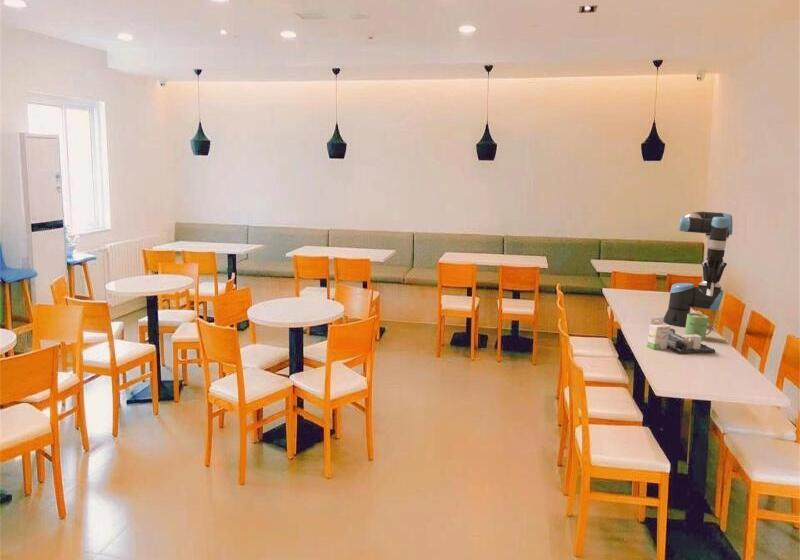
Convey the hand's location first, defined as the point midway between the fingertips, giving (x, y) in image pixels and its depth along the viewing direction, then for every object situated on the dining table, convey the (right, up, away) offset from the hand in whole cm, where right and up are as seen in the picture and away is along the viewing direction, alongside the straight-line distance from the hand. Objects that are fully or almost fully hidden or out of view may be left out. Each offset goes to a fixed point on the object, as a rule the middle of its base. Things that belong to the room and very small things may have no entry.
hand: (709, 295), depth 310 cm
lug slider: (-12, -26, -5) cm, 29 cm away
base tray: (-12, -26, +3) cm, 29 cm away
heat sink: (-15, -24, +2) cm, 29 cm away
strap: (-15, -21, +1) cm, 26 cm away
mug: (+4, -23, +20) cm, 31 cm away
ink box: (-26, -26, -1) cm, 37 cm away
